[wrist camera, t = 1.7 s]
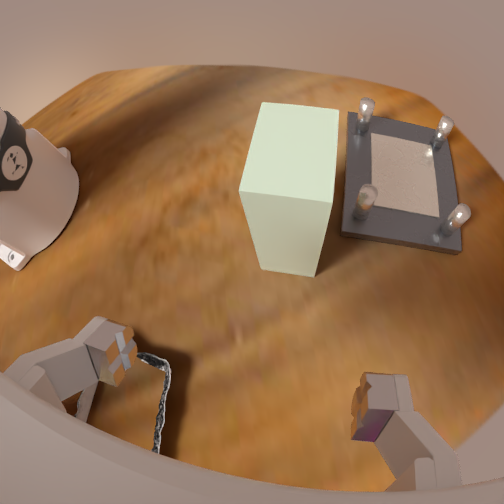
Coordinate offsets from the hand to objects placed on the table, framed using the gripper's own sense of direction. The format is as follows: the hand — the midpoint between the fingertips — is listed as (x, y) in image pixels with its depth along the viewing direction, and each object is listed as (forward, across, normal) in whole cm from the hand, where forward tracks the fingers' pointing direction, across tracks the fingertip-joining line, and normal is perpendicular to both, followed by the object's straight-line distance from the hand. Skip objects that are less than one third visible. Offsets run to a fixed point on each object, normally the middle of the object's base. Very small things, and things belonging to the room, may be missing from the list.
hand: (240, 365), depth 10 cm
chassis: (+27, -11, -2) cm, 30 cm away
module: (+21, 0, +4) cm, 21 cm away
